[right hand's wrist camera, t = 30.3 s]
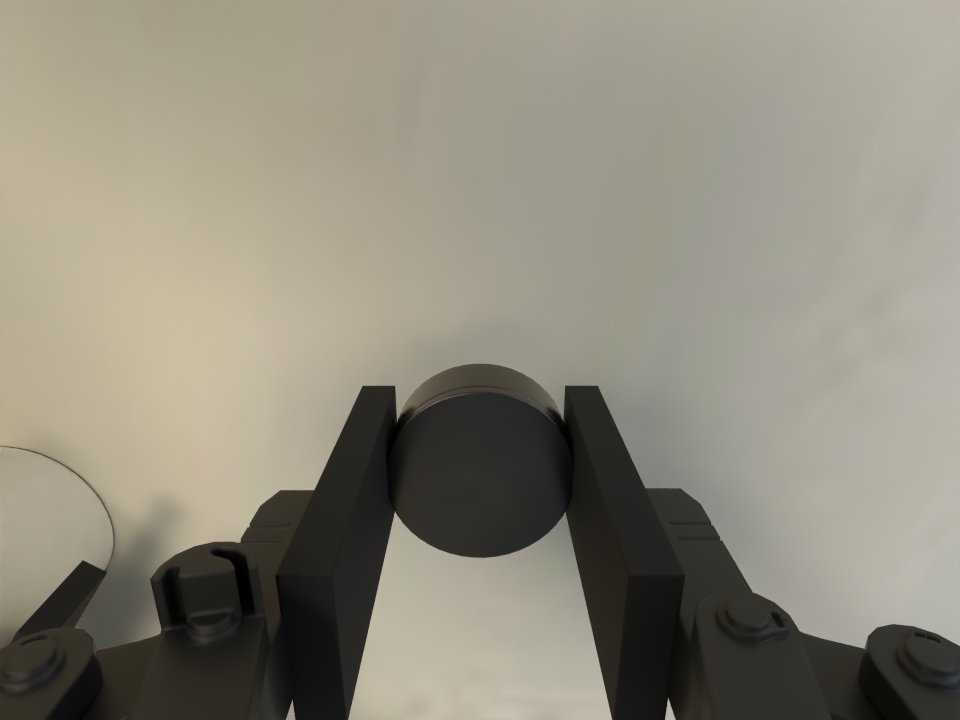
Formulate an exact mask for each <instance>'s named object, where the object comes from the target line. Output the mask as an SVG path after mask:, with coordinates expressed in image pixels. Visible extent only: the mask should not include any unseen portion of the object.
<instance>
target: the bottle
mask: <svg viewBox="0 0 960 720" xmlns="http://www.w3.org/2000/svg"><path fill="white" fill-rule="evenodd" d="M113 541H114V538H113V529H112V525H111V521H110V519H109V516H108V514H107V511H106V509H105V508H104V506H103V504H102V502H101V501H100V499H99V498H98V497H97V495H96V494H95V493H94V491H93V490H92V489H91V488H90V487H89V486H88V485H87V484H86V483H85V482H84V481H83V480H82V479H81V478H80V477H78V476H77V475H76V474H75V473H73V472H72V471H70V470H69V469H68V468H66V467H65V466H63V465H61V464H59V463H58V462H56V461H54V460H52V459H49V458H47V457H45V456H43V455H40V454H37V453H34V452H31V451H27V450H22V449H18V448H9V447H0V650H1V649H2V648H4V647H6V646H8V645H10V643H11V641H12V640H13V638H14V636H15V634H16V632H17V631H18V630H19V629H20V628H21V627H22V626H23V624H24V623H25V622H26V621H27V620H28V619H29V618H30V617H31V616H32V615H33V614H34V612H35V611H36V610H37V609H38V608H39V607H40V606H41V605H42V604H43V603H44V602H45V601H46V599H47V598H48V597H49V596H50V595H51V594H52V593H53V592H54V591H55V590H56V589H57V588H58V586H59V585H60V584H61V583H62V582H63V581H64V580H65V579H66V578H67V577H68V576H69V574H70V573H71V572H72V571H73V570H74V569H75V568H76V567H77V566H78V565H79V564H80V563H81V561H82V560H84V561H86V562H88V563H90V564H92V565H94V566H96V567H98V568H100V569H102V570H105V569H106V567H107V566H108V563H109V561H110V559H111V555H112V551H113Z"/></svg>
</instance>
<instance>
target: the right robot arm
mask: <svg viewBox="0 0 960 720" xmlns="http://www.w3.org/2000/svg"><path fill="white" fill-rule="evenodd" d="M563 422H564V426H565V429H566V433H567V436H568V439H569V443H570V446H571V450H572V453H573V458H574V471H573V487H572V498H571V501H570V503H569V506H568V508H567V509H566V516H567V520H568V525H569V529H570V534H571V538H572V542H573V547H574V551H575V556H576V560H577V565H578V569H579V574H580V578H581V583H582V587H583V591H584V596H585V600H586V605H587V609H588V614H589V618H590V623H591V627H592V632H593V636H594V640H595V645H596V649H597V654H598V658H599V663H600V667H601V672H602V676H603V681H604V685H605V689H606V694H607V698H608V703H609V707H610V712H611V716H612V720H665V715H666V708H667V701H668V698H669V701H670V704H671V707H672V710H673V713H674V716H675V719H676V720H960V646H958V645H956V644H955V643H953V642H951V641H949V640H947V639H945V638H943V637H942V636H940V635H938V634H935V633H932V632H929V631H926V630H923V629H920V628H917V627H914V626H904V625H895V624H892V625H887V626H882V627H878V628H876V629H875V630H874V631H873V632H872V633H871V634H870V635H869V636H868V639H867V642H866V646H865V649H863V648H859V647H855V646H850V645H846V644H842V643H838V642H834V641H829V640H825V639H821V638H818V637H814V636H811V635H808V634H805V633H802V632H800V631H799V630H798V628H797V626H796V625H795V623H794V622H793V620H792V618H791V617H790V615H789V614H787V613H786V612H785V611H784V610H783V609H781V608H780V607H779V606H778V605H777V604H775V603H774V602H772V601H770V600H768V599H766V598H764V597H762V596H760V595H758V594H756V593H753V592H752V590H751V589H750V587H749V585H748V584H747V582H746V580H745V579H744V577H743V575H742V573H741V572H740V570H739V568H738V567H737V565H736V563H735V562H734V560H733V558H732V557H731V555H730V553H729V551H728V550H727V548H726V546H725V545H724V543H723V541H720V536H719V535H718V533H717V531H716V530H715V528H714V526H713V525H711V521H710V519H709V518H708V516H707V514H706V513H705V511H704V509H703V508H702V506H701V504H700V503H698V502H697V501H696V500H695V499H693V498H692V497H691V496H689V495H688V494H687V493H686V492H684V491H683V490H682V489H669V488H645V487H644V485H643V483H642V481H641V478H640V476H639V474H638V472H637V470H636V468H635V465H634V463H633V461H632V459H631V457H630V455H629V453H628V450H627V448H626V446H625V444H624V442H623V440H622V437H621V435H620V433H619V431H618V429H617V427H616V424H615V422H614V420H613V418H612V416H611V414H610V411H609V409H608V407H607V405H606V403H605V401H604V398H603V396H602V394H601V392H600V390H599V388H598V386H565V401H564V420H563ZM396 425H397V413H396V394H395V386H362V389H361V391H360V393H359V395H358V397H357V399H356V402H355V404H354V406H353V408H352V410H351V412H350V414H349V417H348V419H347V421H346V423H345V425H344V427H343V430H342V432H341V434H340V436H339V438H338V440H337V443H336V445H335V447H334V449H333V451H332V453H331V456H330V458H329V460H328V462H327V464H326V466H325V469H324V471H323V473H322V475H321V477H320V479H319V482H318V484H317V486H316V488H315V490H280V491H279V492H278V493H276V494H275V495H274V496H272V497H271V498H270V499H269V500H267V501H266V502H265V503H263V504H262V505H261V506H260V507H259V509H258V511H257V512H256V514H255V516H254V518H253V519H252V521H251V523H250V527H248V528H247V529H246V531H245V533H244V535H243V536H242V538H241V543H235V542H212V543H208V544H203V545H199V546H194V547H192V548H190V549H188V550H185V551H183V552H181V553H179V554H176V555H175V556H173V557H172V558H171V559H169V560H168V561H167V562H165V563H164V564H162V565H161V566H160V567H159V568H158V570H157V571H156V572H155V574H154V575H153V577H152V578H151V579H150V581H151V585H152V590H153V594H154V598H155V603H156V607H157V612H158V616H159V620H160V625H161V629H162V631H161V633H160V634H159V635H157V636H154V637H151V638H148V639H145V640H141V641H138V642H133V643H129V644H125V645H121V646H117V647H112V648H108V649H104V650H100V651H96V647H95V644H94V640H93V638H92V637H91V636H90V635H89V634H88V633H87V632H86V631H85V630H81V629H76V628H72V627H62V628H52V629H46V630H43V631H40V632H37V633H34V634H31V635H28V636H25V637H23V638H21V639H19V640H17V641H15V642H13V643H12V644H10V645H8V646H6V647H4V648H2V649H1V650H0V720H286V717H287V714H288V711H289V708H290V705H291V702H292V699H293V705H294V712H295V720H348V718H349V713H350V709H351V705H352V700H353V696H354V691H355V687H356V682H357V678H358V673H359V669H360V664H361V660H362V656H363V651H364V647H365V642H366V638H367V633H368V629H369V624H370V620H371V615H372V611H373V607H374V602H375V598H376V593H377V589H378V584H379V580H380V575H381V571H382V566H383V562H384V557H385V553H386V549H387V544H388V540H389V535H390V531H391V526H392V522H393V517H394V513H395V510H394V508H393V506H392V504H391V501H390V498H389V495H388V481H387V457H388V453H389V450H390V446H391V442H392V439H393V435H394V432H395V428H396Z"/></svg>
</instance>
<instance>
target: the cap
mask: <svg viewBox="0 0 960 720" xmlns="http://www.w3.org/2000/svg"><path fill="white" fill-rule="evenodd" d="M573 471H574V458H573V453H572V450H571V446H570V443H569V439H568V436H567V433H566V429H565V426H564V422H563V419H562V416H561V414H560V411H559V409H558V407H557V406H556V404H555V402H554V401H553V399H552V398H551V397H550V395H549V394H548V393H547V392H546V391H545V390H544V389H543V388H542V387H541V386H540V385H539V384H538V383H536V382H535V381H534V380H532V379H531V378H529V377H527V376H526V375H524V374H522V373H520V372H518V371H515V370H513V369H510V368H506V367H503V366H498V365H491V364H470V365H463V366H458V367H454V368H451V369H448V370H446V371H443V372H441V373H439V374H437V375H435V376H433V377H431V378H430V379H429V380H427V381H426V382H424V383H423V384H422V385H421V386H420V387H419V388H418V389H416V390H415V391H414V393H413V394H412V395H411V396H410V397H409V399H408V400H407V402H406V403H405V405H404V407H403V408H402V411H401V413H400V415H399V418H398V421H397V425H396V428H395V432H394V435H393V439H392V442H391V446H390V450H389V453H388V457H387V481H388V495H389V498H390V501H391V504H392V506H393V508H394V510H395V512H396V514H397V515H398V516H399V518H400V519H401V521H402V522H403V523H404V524H405V526H406V527H407V528H408V529H409V530H410V531H411V532H412V533H414V534H415V535H416V536H417V537H418V538H420V539H421V540H423V541H424V542H426V543H427V544H429V545H431V546H433V547H435V548H437V549H439V550H442V551H445V552H448V553H451V554H455V555H459V556H465V557H478V558H486V557H496V556H501V555H506V554H510V553H513V552H516V551H519V550H521V549H523V548H526V547H528V546H530V545H532V544H533V543H535V542H536V541H538V540H540V539H541V538H542V537H543V536H545V535H546V534H547V533H548V532H549V531H550V530H551V529H552V528H553V527H554V526H555V525H556V524H557V523H558V522H559V520H560V519H561V518H562V516H563V515H564V513H565V511H566V509H567V508H568V506H569V503H570V501H571V498H572V487H573Z"/></svg>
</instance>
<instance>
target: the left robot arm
mask: <svg viewBox="0 0 960 720" xmlns="http://www.w3.org/2000/svg"><path fill="white" fill-rule="evenodd" d="M106 573H107V572H106V571H104V570H102V569H100V568H98V567H96V566H94V565H92V564H90V563H88V562H86V561H84V560H82V561H81V563H80V564H79V565H78V566H77V567H76V568H75V569H74V570H73V571H72V572H71V573H70V574H69V576H68V577H67V578H66V579H65V580H64V581H63V582H62V583H61V584H60V585H59V586H58V588H57V589H56V590H55V591H54V592H53V593H52V594H51V595H50V596H49V597H48V598H47V599H46V601H45V602H44V603H43V604H42V605H41V606H40V607H39V608H38V609H37V610H36V611H35V612H34V614H33V615H32V616H31V617H30V618H29V619H28V620H27V621H26V622H25V623H24V624H23V626H22V627H21V628H20V629H19V630H18V631H17V632H16V634H15V636H14V638H13V640H12V641H11V643H10V644H12V643H13V642H15V641H17V640H19V639H21V638H23V637H25V636H28V635H31V634H34V633H37V632H40V631H43V630H46V629H52V628H62V627H72V628H74V627H75V625H76V623H77V622H78V620H79V618H80V617H81V615H82V613H83V612H84V610H85V608H86V607H87V605H88V603H89V602H90V600H91V598H92V597H93V595H94V593H95V592H96V590H97V588H98V587H99V585H100V583H101V582H102V580H103V578H104V577H105V575H106Z"/></svg>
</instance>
